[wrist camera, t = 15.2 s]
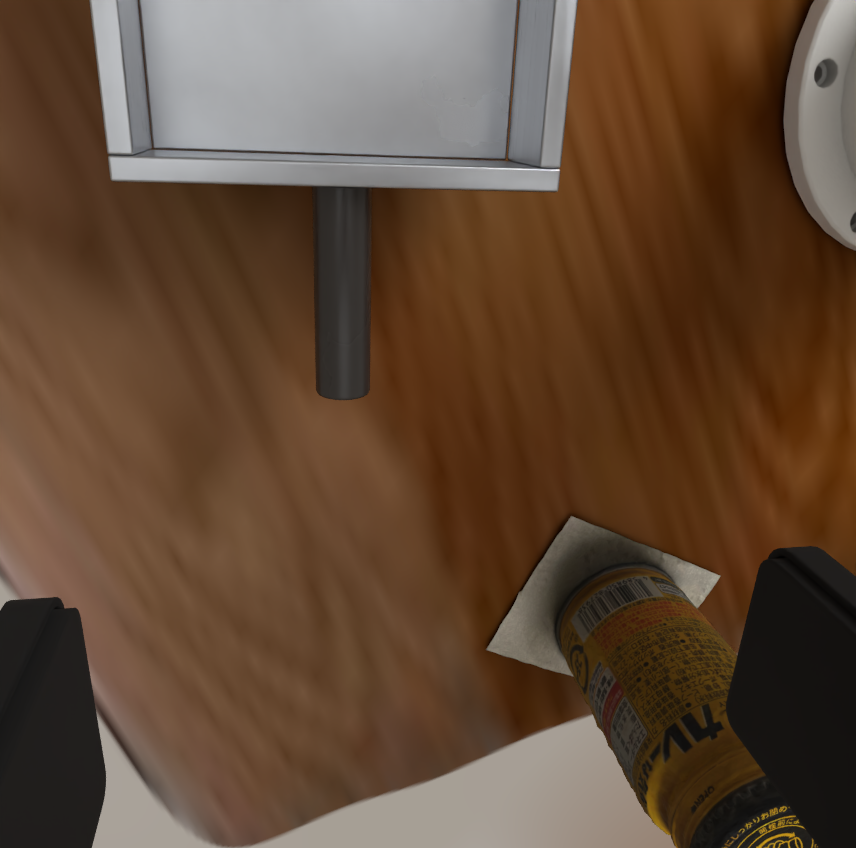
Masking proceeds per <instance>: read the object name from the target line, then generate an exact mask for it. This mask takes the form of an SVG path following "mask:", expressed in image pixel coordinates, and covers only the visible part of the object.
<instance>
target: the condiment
mask: <svg viewBox="0 0 856 848" xmlns="http://www.w3.org/2000/svg"><path fill="white" fill-rule="evenodd" d="M719 578H720V575H717V574H715V573H712V572H710V571H708V570H705V569H703V568H700V567H698V566H696V565H694V564H691V563H689V562H686V561H683V560H681V559H679V558H677V557H674V556H672V555H669V554H667V553H663V552H661V551H659V550H657V549H654V548H651V547H648V546H646V545H643V544H640V543H637V542H634V541H632V540H630V539H628V538H626V537H623V536H621V535H618V534H616V533H614V532H611V531H609V530H606V529H604V528H601V527H598V526H594V525H592V524H589V523H587V522H585V521H582V520H580V519H577V518H575V517H573V516H571V517H570V519H569V520H568V522H567V523H566V525H565V526H564V528H563V529H562V531H561V532H560V533H559V534H558V535H557V537H556V538H555V540H554V542H553V543H552V545H551V546H550V548H549V549H548V550H547V552H546V554H545V556H544V558H543V559H542V560H541V562H540V563H539V564H538V566H537V567H536V569H535V570H534V572H533V574H532V575H531V577H530V579H529V580H528V582H527V583H526V585H525V587H524V588H523V590H522V591H521V592H519V593H518V596H517V599H516V601H515V603H514V605H513V607H512V609H511V610H510V612H509V614H508V615H507V616H506V618H505V619H504V620H503V622H502V624H501V625H500V627H499V629H498V631H497V633H496V635H495V636H494V638H493V640H492V641H491V643H490V644H489V646H488V648H487V649H486V650H488V651H491V652H495V653H497V654H500V655H503V656H506V657H511V658H514V659H517V660H519V661H521V662H524V663H529V664H533V665H536V666H538V667H541V668H543V669H549V670H551V671H555V672H559V673H563V674H567V675H570V676H573V677H574V680H575V681H576V683H577V685H578V686H579V688H580V691H581V694H582V695H583V697H584V699H585V701H586V703H587V704H588V705H589V706H590V708H591V711H592V714H593V716H594V718H595V720H596V723H597V727H598V728H599V729H601V731H602V732H603V733H604V735H605V737H606V740H607V743H608V746H609V747H610V748H611V750H613V752H614V754H615V756H616V758H617V761H618V763H619V765H620V766H621V767H622V770H623V773H624V775H625V777H626V779H627V781H628V782H629V784H630V786H631V788H632V789H633V790H634V792H635V793H636V796H637V799H638V801H639V803H640V804H641V806H642V807H643V809H644V812H645V813H646V814H648V816H649V817H650V818H651V819H652V821H653V823H654V824H655V825H657V826H658V827H659V828H660V829H661V830H663V831H664V832H665V833H666V834H668V835H671V838H672V840H673V843H674V845H675V846H676V848H819V847H818V846H817V844H816V843H815V842H814V840H813V839H812V838H811V836H810V835H809V833H808V832H807V831H806V829H805V828H804V827H803V825H802V824H801V823H800V821H799V820H798V818H797V817H796V816H795V814H794V813H793V812H792V810H791V809H790V808H789V806H788V805H787V803H786V802H785V801H784V799H783V798H782V797H781V795H780V794H779V793H778V791H777V790H776V788H775V787H774V786H773V784H772V783H771V782H770V780H769V779H768V777H767V776H766V775H765V773H764V772H763V771H762V769H761V768H760V767H759V765H758V764H757V762H756V761H755V760H754V758H753V757H752V756H751V754H750V753H749V752H748V750H747V749H746V747H745V746H744V745H743V743H742V742H741V741H740V739H739V738H738V737H737V735H736V734H735V732H734V731H733V729H732V728H731V726H730V724H729V721H728V718H727V714H726V701H727V697H728V692H729V688H730V684H731V680H732V676H733V672H734V668H735V664H736V660H737V655H736V653H735V652H734V651H733V650H732V649H731V648H730V646H729V645H728V644H727V643H726V642H725V640H724V639H723V638H722V637H721V636H720V635H719V633H718V632H717V631H716V630H715V629H714V628H713V626H712V625H711V624H710V623H709V622H708V620H707V619H706V618H705V617H704V616H703V615H702V614H701V612H700V611H699V610H698V609H697V608H698V607H699V605H700V604H701V603H702V602H703V601H704V599H705V598H706V596H707V595H708V594H709V592H710V591H711V590H712V588H713V587H714V585H715V584H716V582H717V581H718V579H719Z"/></svg>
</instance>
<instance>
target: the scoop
mask: <svg viewBox="0 0 856 848" xmlns="http://www.w3.org/2000/svg"><path fill="white" fill-rule="evenodd" d="M89 3H90V11H91V20H92V28H93V37H94V45H95V54H96V62H97V71H98V79H99V88H100V96H101V105H102V113H103V122H104V130H105V139H106V147H107V153H108V154H110V155H109V156H108V164H109V172H110V179H111V181H113V182H150V183H191V184H233V185H274V186H312V200H313V254H314V308H315V362H316V391H317V393H318V394H319V395H320V396H322V397H325V398H329V399H334V400H352V399H357V398H361V397H364V396H365V395H367V394H368V393H369V390H370V325H371V234H372V188H398V189H439V190H480V191H522V192H557V191H558V188H559V178H560V169H558V168H560V166H561V158H562V149H563V139H564V129H565V119H566V110H567V100H568V90H569V81H570V71H571V61H572V51H573V42H574V32H575V22H576V13H577V3H578V0H520V4H519V17H518V31H517V44H516V57H515V70H514V83H513V96H512V109H511V122H510V135H509V148H508V160H509V161H504V160H506V155H507V142H508V129H509V116H510V103H511V90H512V76H513V63H514V50H515V37H516V24H517V11H518V0H139V7H138V0H89ZM139 9H140V17H139ZM140 19H141V27H140ZM141 30H142V38H141ZM142 40H143V48H142ZM143 51H144V59H143ZM144 61H145V69H144ZM145 72H146V80H145ZM146 82H147V90H146ZM147 93H148V101H147ZM148 103H149V111H148ZM149 113H150V121H149ZM150 124H151V132H150ZM151 134H152V142H151ZM152 145H153V148H154V149H151V148H152ZM155 149H163V150H155ZM186 150H194V151H186ZM217 151H225V152H217ZM248 152H256V153H248ZM279 153H287V154H279ZM310 154H318V155H310ZM341 155H349V156H341ZM371 156H380V157H371ZM402 157H411V158H402ZM433 158H442V159H433ZM464 159H473V160H464ZM495 160H503V161H495Z"/></svg>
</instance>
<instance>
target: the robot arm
mask: <svg viewBox="0 0 856 848" xmlns="http://www.w3.org/2000/svg"><path fill="white" fill-rule="evenodd" d="M783 123H784V135H785V147H786V156H787V160H788V163H789V167H790V171H791V174H792V178H793V182H794V185H795V187H796V189H797V191H798V193H799V195H800V197H801V199H802V201H803V203H804V205H805V207H806V209H807V211H808V212H809V213H810V215H811V216H812V217H813V218H814V219H815V220H816V222H817V223H818V224H819V225H820V226H821V228H822V229H823V230H824V231H825V232H826V233H827V234H829V235H830V236H832V237H833V238H834V239H836V240H837V241H839V242H840V243H841V244H843V245H844V246H846V247H848V248H850V249H853V250H855V251H856V0H814V1H813V3H812V5H811V7H810V9H809V12H808V14H807V17H806V19H805V22H804V24H803V27H802V29H801V32H800V34H799V37H798V39H797V42H796V45H795V49H794V53H793V57H792V61H791V65H790V70H789V74H788V78H787V82H786V93H785V105H784V117H783ZM726 714H727V718H728V721H729V724H730V726H731V728H732V729H733V731H734V732H735V734H736V735H737V737H738V738H739V739H740V741H741V742H742V743H743V745H744V746H745V747H746V749H747V750H748V752H749V753H750V754H751V756H752V757H753V758H754V760H755V761H756V762H757V764H758V765H759V767H760V768H761V769H762V771H763V772H764V773H765V775H766V776H767V777H768V779H769V780H770V782H771V783H772V784H773V786H774V787H775V788H776V790H777V791H778V793H779V794H780V795H781V797H782V798H783V799H784V801H785V802H786V803H787V805H788V806H789V808H790V809H791V810H792V812H793V813H794V814H795V816H796V817H797V818H798V820H799V821H800V823H801V824H802V825H803V827H804V828H805V829H806V831H807V832H808V833H809V835H810V836H811V838H812V839H813V840H814V842H815V843H816V844H817V846H818V847H819V848H856V576H854V575H853V574H852V573H851V572H849V571H848V570H847V569H846V568H844V567H843V566H842V565H841V564H839V563H838V562H837V561H836V560H834V559H833V558H832V557H831V556H830V555H828V554H827V553H826V552H825V551H823V550H822V549H820V548H818V547H813V546H808V547H793V548H779V549H776V550H774V551H773V552H772V553H771V554H770V555H769V557H768V559H767V560H764V561H763V562H762V563H761V565H760V567H759V570H758V574H757V578H756V582H755V587H754V591H753V595H752V599H751V603H750V607H749V611H748V615H747V619H746V623H745V627H744V631H743V635H742V639H741V644H740V648H739V652H738V656H737V660H736V664H735V668H734V672H733V676H732V680H731V684H730V688H729V692H728V697H727V701H726ZM105 787H106V771H105V764H104V758H103V751H102V745H101V739H100V733H99V727H98V721H97V715H96V709H95V703H94V696H93V690H92V684H91V678H90V672H89V666H88V660H87V654H86V648H85V642H84V635H83V629H82V623H81V618H80V613H79V611H78V609H76V608H66V609H64V605H63V603H62V601H61V599H60V598H58V597H52V598H38V599H23V600H10V601H8V602H6V603H5V604H4V606H3V607H2V609H1V610H0V848H92V844H93V841H94V837H95V833H96V829H97V825H98V821H99V817H100V813H101V810H102V805H103V801H104V796H105Z"/></svg>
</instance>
